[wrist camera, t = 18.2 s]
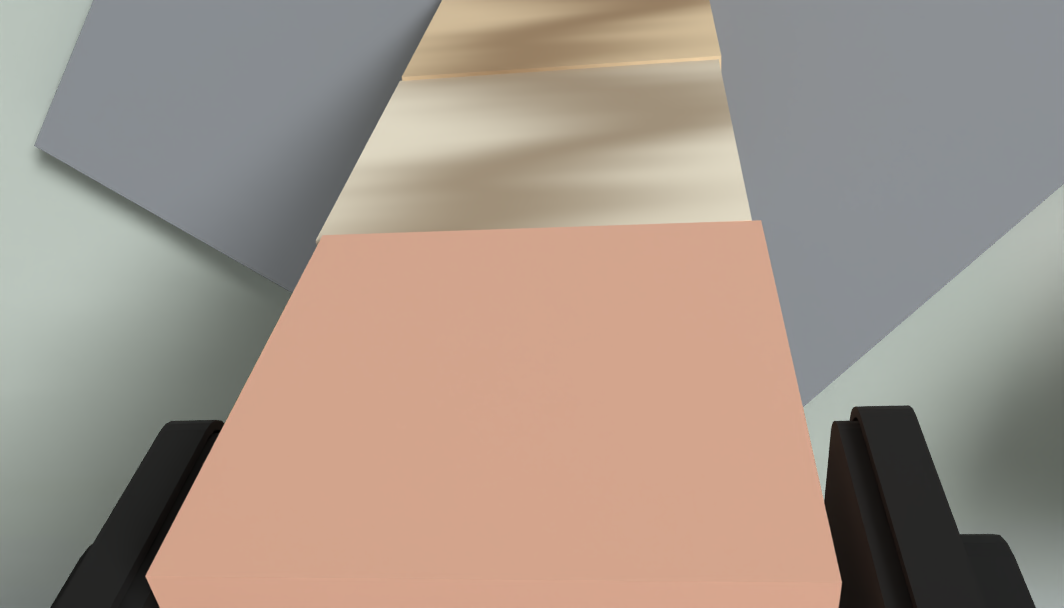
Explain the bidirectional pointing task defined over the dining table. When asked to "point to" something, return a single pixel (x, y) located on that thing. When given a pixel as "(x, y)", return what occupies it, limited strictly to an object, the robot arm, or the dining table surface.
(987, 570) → the robot arm
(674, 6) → the oak base brick
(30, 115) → the dining table surface
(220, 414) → the dining table surface
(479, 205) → the birch block
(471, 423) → the terracotta block
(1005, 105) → the baseplate
